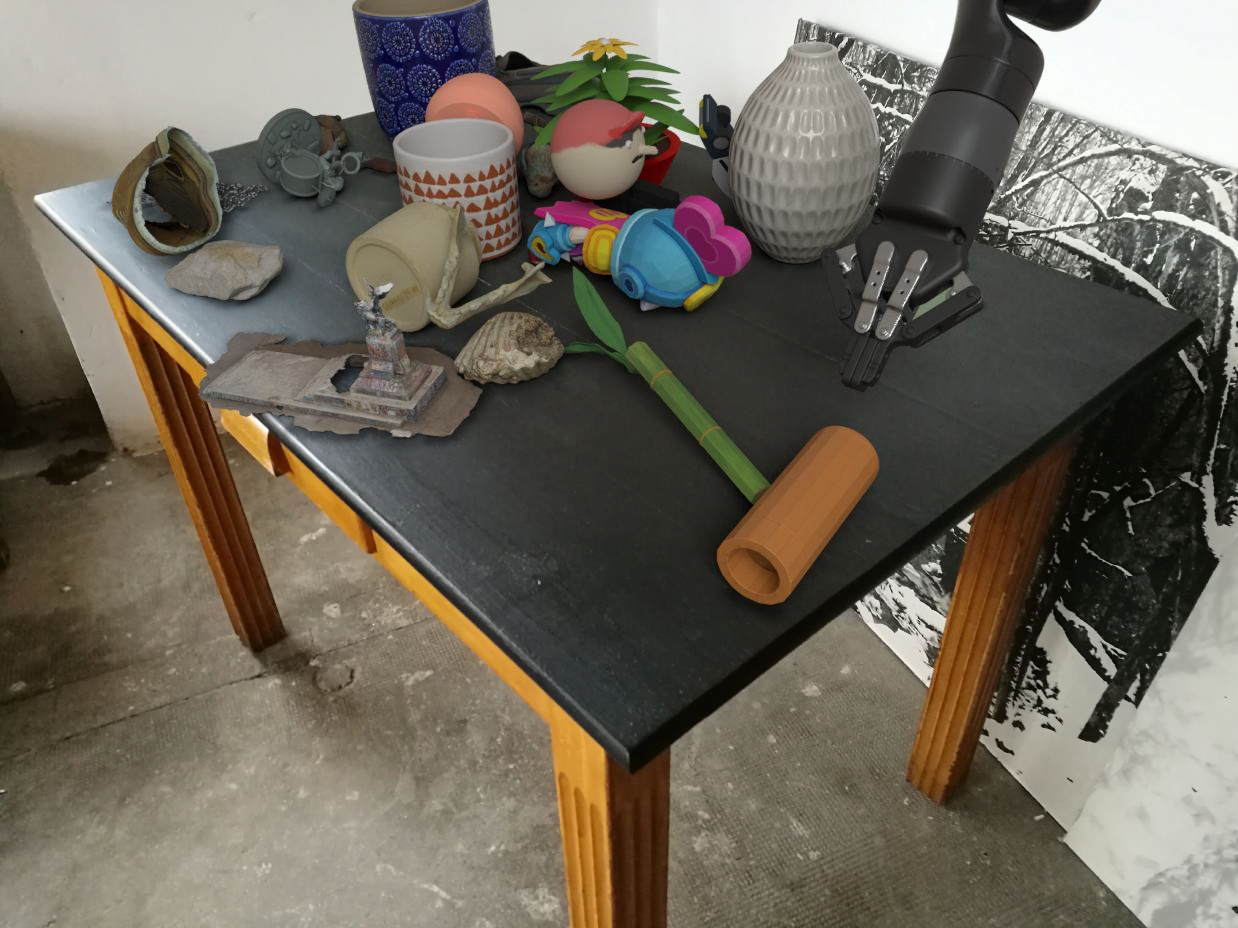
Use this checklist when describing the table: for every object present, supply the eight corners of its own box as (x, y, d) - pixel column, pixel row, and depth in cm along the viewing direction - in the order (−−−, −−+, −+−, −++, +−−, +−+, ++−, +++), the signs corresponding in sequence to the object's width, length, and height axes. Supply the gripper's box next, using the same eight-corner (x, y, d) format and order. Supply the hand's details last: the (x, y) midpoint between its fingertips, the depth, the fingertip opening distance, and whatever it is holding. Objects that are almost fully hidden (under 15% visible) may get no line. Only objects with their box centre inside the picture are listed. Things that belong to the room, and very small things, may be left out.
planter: (514, 164, 130) (496, 7, 117) (384, 181, 127) (350, 22, 114) (497, 122, 144) (479, -22, 131) (380, 136, 141) (350, -10, 128)
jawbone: (547, 297, 94) (567, 238, 88) (491, 376, 86) (510, 316, 80) (443, 243, 94) (456, 180, 88) (376, 316, 86) (385, 252, 79)
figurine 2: (273, 112, 139) (321, 97, 144) (281, 141, 142) (328, 126, 147) (326, 131, 132) (375, 115, 137) (333, 161, 134) (381, 145, 139)
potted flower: (603, 156, 131) (595, 2, 118) (749, 196, 118) (757, 28, 105) (481, 215, 117) (457, 48, 104) (631, 268, 104) (624, 84, 91)
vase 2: (532, 219, 116) (524, 118, 108) (508, 269, 106) (498, 161, 98) (428, 215, 118) (413, 115, 110) (395, 263, 107) (375, 157, 99)
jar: (831, 412, 71) (735, 523, 61) (893, 457, 70) (804, 577, 60) (799, 455, 75) (705, 565, 66) (857, 499, 74) (769, 617, 65)
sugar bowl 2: (400, 124, 111) (419, 73, 116) (474, 204, 120) (489, 154, 126) (475, 81, 105) (492, 30, 110) (547, 169, 114) (559, 118, 120)
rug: (268, 184, 126) (270, 191, 127) (153, 173, 132) (156, 179, 132) (223, 212, 119) (225, 218, 120) (104, 199, 124) (106, 205, 125)
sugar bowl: (303, 219, 92) (396, 163, 102) (330, 313, 99) (415, 252, 109) (420, 247, 87) (507, 185, 96) (440, 344, 94) (519, 277, 104)
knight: (543, 310, 109) (741, 355, 89) (485, 219, 100) (692, 246, 80) (603, 243, 113) (805, 272, 93) (553, 150, 104) (765, 159, 84)
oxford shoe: (231, 167, 125) (175, 218, 128) (167, 109, 119) (108, 164, 121) (216, 263, 105) (149, 322, 107) (137, 200, 98) (67, 264, 101)
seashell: (486, 330, 79) (419, 360, 86) (526, 400, 81) (458, 423, 88) (557, 281, 87) (491, 312, 94) (592, 346, 89) (525, 371, 96)
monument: (156, 401, 87) (109, 281, 79) (252, 323, 98) (220, 212, 90) (442, 457, 80) (422, 332, 72) (510, 366, 91) (499, 249, 83)
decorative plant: (723, 504, 69) (538, 282, 85) (721, 558, 76) (550, 343, 92) (788, 467, 71) (594, 256, 87) (780, 524, 77) (602, 318, 93)
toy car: (716, 121, 101) (677, 139, 104) (778, 207, 113) (742, 222, 116) (716, 89, 104) (678, 107, 106) (777, 177, 115) (742, 191, 118)
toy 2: (701, 276, 104) (595, 234, 110) (717, 257, 106) (612, 216, 111) (700, 220, 97) (587, 178, 103) (717, 200, 99) (605, 160, 105)
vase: (827, 212, 114) (848, 19, 99) (892, 269, 101) (927, 59, 87) (705, 232, 110) (709, 37, 96) (757, 294, 98) (770, 81, 84)
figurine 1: (317, 168, 132) (376, 208, 129) (255, 191, 125) (317, 233, 122) (317, 99, 125) (380, 140, 122) (252, 119, 118) (317, 163, 115)
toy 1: (648, 214, 94) (635, 116, 88) (546, 213, 98) (526, 120, 92) (678, 177, 101) (668, 84, 95) (581, 177, 106) (565, 89, 99)
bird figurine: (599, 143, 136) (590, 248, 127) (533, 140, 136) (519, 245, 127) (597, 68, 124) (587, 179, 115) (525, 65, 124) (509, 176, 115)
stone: (232, 254, 111) (165, 296, 106) (213, 214, 108) (143, 255, 102) (309, 277, 105) (243, 323, 99) (293, 235, 102) (223, 281, 96)
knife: (503, 213, 119) (524, 194, 122) (502, 205, 118) (523, 186, 121) (345, 177, 130) (367, 161, 133) (342, 170, 129) (365, 153, 132)
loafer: (481, 83, 160) (473, 26, 154) (626, 105, 148) (623, 45, 142) (443, 102, 153) (433, 44, 147) (591, 127, 141) (587, 65, 135)
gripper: (852, 132, 67) (759, 347, 68) (1034, 167, 61) (929, 404, 61) (873, 177, 74) (788, 373, 74) (1039, 213, 68) (945, 427, 68)
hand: (852, 387), depth 68 cm, fingers closed
